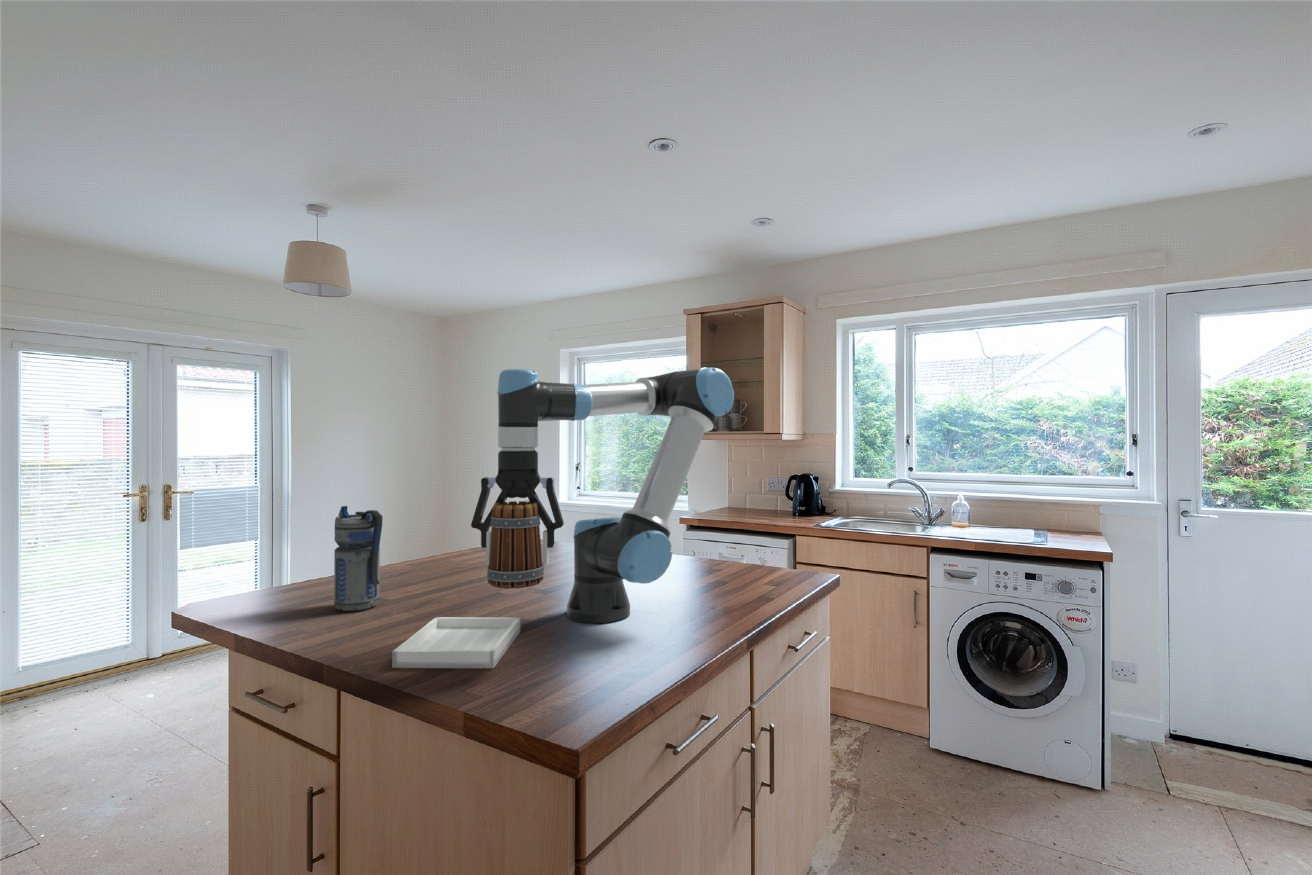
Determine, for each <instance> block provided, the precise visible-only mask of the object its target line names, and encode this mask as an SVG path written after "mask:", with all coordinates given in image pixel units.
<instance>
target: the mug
mask: <svg viewBox="0 0 1312 875" xmlns="http://www.w3.org/2000/svg"><path fill="white" fill-rule="evenodd" d="M492 507H493V512H492V516H491V526H490V530H491V541H490V555H489V566H487V572H486V573H487V574H486V578H487V583H488V584H489V586H491V587H493V588H498V589H507V590H509V589H513V590H514V589H524V588H530V587H534V586H537V585H539V584H540V583H541V582H542V581H544V575H545V571H544V569H545V568H544V566H543V553H542V545H541V544H542V542H541V531H540V525H541V518H540V515H538V505H537V503H536V502H534V504H532V503H531V502H530V501H529V499H526V500H520V501H518V502H517V501H516V500H514V501H508V502H507V501H505V502H503V503H502V505H500V503H495V502H494V503H493V505H492Z"/></svg>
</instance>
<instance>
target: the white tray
mask: <svg viewBox="0 0 1312 875" xmlns="http://www.w3.org/2000/svg"><path fill="white" fill-rule="evenodd" d="M521 619H522V618H521V617H497V616H496V617H493V616H491V617H489V616H488V617H484V616H483V617H475V616H474V617H473V616H472V617H469V616H468V617H465V616H464V617H463V616H461V617H459V616H454V617H453V616H452V617H451V616H450V617H449V616H447V617H446V616H444V617H443V616H440V617H439V616H435V617H434V618H433V619H431V620H430V621H429V622H427V624H426V625H424V626H422V628H420V629H419V630H418V631H417V632H415V633H414V634H413V635H411V636H410V637H409V638H407V639H406V640H405V641H404V642H402V643H401V644H400V645H399V646H397V647H396V648H395V649H394V650H392V651H391V653H392V656H391V658H392V659H391V664H392V666H391V667H392V668H391V669H494V668H495V667H496V665H497V664H498V663H499V661H500V660H501V658H502V657H503V656H504V655H505V653H506V652H507V651H508V649H509V648H510V647H511V645H512V644H513V642H514V641H515V639H516V638H517V637H518V635H519V634H520V633H521V631H522V630H521Z"/></svg>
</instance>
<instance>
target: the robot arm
mask: <svg viewBox="0 0 1312 875" xmlns="http://www.w3.org/2000/svg"><path fill="white" fill-rule="evenodd" d="M497 389H498V390H497V395H498V396H497V400H498V401H497V403H498V404H497V405H498V409H497V411H498V426H497V427H498V428H497V431H498V432H497V441H498V442H497V447H498V448H499V449H501V450H499V451H498V454H497V456H498V457H497V458H498V459H497V475H496V476H495V477H488V476H486V477H482V478H481V479H480V484H481V485H480V486H481V487H480V488H481V489H480V494H479V497H478V500H477V504H476V506H475V510H474V513H473V517H472V519H471V520H472V521H471V522H470V523H471V524H470V526H471V528H472V529H476V530H479V531H480V546H481V548H482V549H485V556H486V557H485V561H486V562H485V564H486V565H485V566H486V567H488V566H489V555H490V541H491V516H492V512H493V506H492V507H491V509H490V511H489V513H488V514H487V515H486V518H485V519H484V521H482V520H483V516H484V513H485V509H486V507H487V503H488V500H489V498H490V497H489V496H490V494H491V489H493V488H494V486H495V484H496V485H497V486H498V487H499V489H500V490H501V491H500V492H499V495H498V497H497V499H496V501H495V502H494V504H495V503H500V505H502V503H503V502H507V501H506V500H507V499H508V498H509V499H515V498H520V499H526V498H527V500H529V501H530V502H531V503H532V504H534V502H536V503H537V505H538V515H540V521H541V522H542V524H543V525H544V527H545V529H544V530H543V531H542V564H543V567H546V566H548V565H549V560H550V556H549V555H550V549H551V548H552V549H553V547H554V545H555V531H556V530H557V529H561V528H562V527H563V526H564V524H565V522H564V519H563V515H562V513H561V512H562V511H561V508H560V506H559V502H558V498H557V496H556V491H555V478H554V476H553V477H552V476H550V477H541V476H540V474H539V452H538V451H537V450H536V449H537V448H538V447H539V424H538V423H539V422H541V421H542V422H548V421H550V422H551V421H554V422H555V421H571V422H574V421H585V420H586V419H587V418H589V417H598V416H611V415H622V414H632V413H634V414H635V413H637V414H638V415H640V416H661V417H662V416H663V417H670V421H669V424H668V426H667V428H666V430H665V433H664V436H663V438H662V440H661V442H660V443H659V447H658V449H657V451H656V454H655V456H654V458H653V461H652V463H651V465H650V467H649V470H648V472H647V474H646V477H645V478H644V481H643V484H642V486H641V488H640V490H639V493H638V495H637V497H636V500H635V503H634V505H633V507H632V508H631V509H629V510H625V511H624V512H623V513H622V516H612V517H611V516H610V517H598V518H589V519H580V520H578V521H577V522H576V523H575V525H574V530H573V531H574V532H573V541H574V542H573V552H574V556H573V557H574V558H573V562H574V563H573V566H574V567H573V570H574V571H573V574H574V576H573V577H574V579H573V585H572V587H571V588H572V589H571V591H570V595H569V598H568V601H567V604H566V617H567V618H568V619H570V620H572V621H576V622H579V623H585V624H586V623H588V624H602V623H603V624H605V623H612V622H617V621H622V620H624V619H626V618H628V617H629V616H630V615H631V603H630V599H629V597H628V592H627V590H626V587H625V584H624V580H625V581H626V582H629V583H635V584H636V583H638V584H643V585H644V584H646V585H647V584H650V583H653V582H654V581H657V580H659V579H660V578H661V577H662V576H663V575H664V574H665V573H666V572H667V570H668V569H669V566H670V565H671V561H672V558H673V551H672V543H671V540H670V539H669V538H670V535H671V533H672V532H671V529H670V527H669V524H668V523H669V521H670V518H671V516H672V513H673V511H674V508H675V506H676V503H677V501H678V498H679V495H680V494H681V491H682V488H683V485H684V483H685V481H686V478H687V476H688V474H689V471H690V469H691V466H692V464H693V461H694V459H695V457H696V453H697V451H698V449H699V447H700V445H701V441H702V439H703V437H704V434H705V433H708V432H711V431H712V430H713V429H714V426H715V425H716V424H715V423H716V422H717V419H718V418H719V417H723V416H725V415H726V414H728V413H729V412H730V411H731V410H732V407H733V406H734V400H735V390H734V388H733V384H732V381H731V379H730V377H729V376H728V374H726V373H725V372H724V371H723V370H722V369H720V368H717V367H700V368H697V369H696V368H695V369H685V370H679V371H678V370H677V371H672V372H668V373H667V372H666V373H664V374H663V373H662V374H659V375H655V376H647V377H640V378H638V379H637V380H635V381H634V382H633V381H630V382H629V381H628V382H616V383H615V382H614V383H611V382H610V383H592V384H591V383H590V384H589V383H588V384H576V383H575V382H574V383H564V382H562V383H561V382H560V383H559V382H546V381H541V380H540V379H539V374H538V372H537V371H536V370H532V369H526V368H509V369H504V370H502V371H501V372H500V373H499V375H498V386H497ZM539 484H541V486H542V488H543V489H545V491H546V495H547V499H548V501H549V502H548V503H549V506H550V509H551V513H552V515H553V519H554V522H553V520H552V519H551V517H550V515H549V514H548V511H546V510H547V509H545V507H544V505H543V503H542V502H541V500H540V499H539V496H538V494H537V492H536V491H535V490H536V488H537V487H538V485H539Z"/></svg>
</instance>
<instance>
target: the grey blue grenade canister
mask: <svg viewBox="0 0 1312 875" xmlns="http://www.w3.org/2000/svg"><path fill="white" fill-rule="evenodd" d="M382 530H383V515H382V514H381V513H380V512H379V511H378V510H375V509H374V510H373V509H372V510H371V509H369V510H365V511H355V512H354V514H349V512H348V505H344V506H343V505H342V506H341V507H340V510H339V512H338V516H336V517H335V519H334V542H335V543H336V545H337V546H338V547H336V548H335V549H334V556H333V557H334V568H333V569H334V576H333V577H334V579H333V580H334V582H333V583H334V591H333V593H334V599H333V600H334V602H333V604H334V606H335V608H336V610H338V611H342V612H358V611H365V610H369V609H371V608H373V607H375V606H377V605H378V604H379V601H380V599H381V598H380V592H381V591H380V589H381V588H380V587H381V586H380V585H381V581H380V580H381V579H380V578H381V577H380V574H381V573H380V572H381V571H380V570H381V569H380V567H381V566H380V565H381V561H380V559H381V556H380V554H381V553H380V552H381V551H380V550H381V549H380V548H381V547H380V545H381V544H380V543H381V537H382Z"/></svg>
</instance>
